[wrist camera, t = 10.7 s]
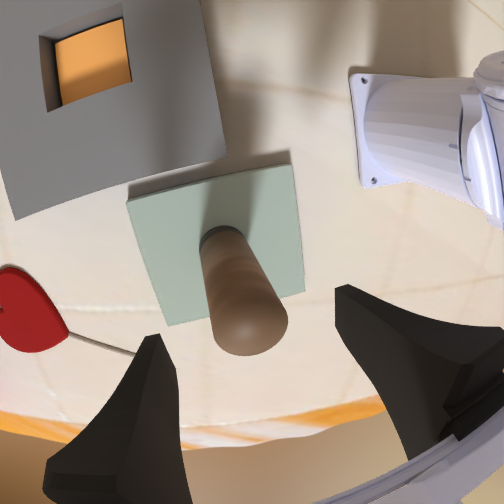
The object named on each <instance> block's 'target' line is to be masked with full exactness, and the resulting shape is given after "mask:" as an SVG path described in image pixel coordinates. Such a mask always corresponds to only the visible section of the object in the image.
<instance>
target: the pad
mask: <svg viewBox="0 0 504 504" xmlns="http://www.w3.org/2000/svg"><path fill="white" fill-rule="evenodd" d="M126 206H127V210H128V213H129V216H130V220H131V223H132V226H133V230H134V233H135V236H136V239H137V242H138V245H139V249H140V252H141V255H142V258H143V261H144V263H145V266H146V269H147V272H148V275H149V278H150V281H151V283H152V286H153V289H154V292H155V294H156V297H157V300H158V302H159V305H160V307H161V310H162V313H163V315H164V318H165V320H166V323H167V325H168V326H172V325H177V324H181V323H186V322H190V321H194V320H198V319H203V318H207V317H210V314H209V308H208V303H207V297H206V291H205V285H204V279H203V273H202V267H201V261H200V254H199V244H200V241H201V239H202V237H203V236H204V234H205V233H206V232H208V231H209V230H210V229H212V228H214V227H217V226H222V225H226V226H232V227H234V228H236V229H238V230H239V231H240V232H241V233H242V234H243V235H244V237H245V239H246V240H247V242H248V244H249V246H250V247H251V249H252V251H253V253H254V255H255V256H256V258H257V260H258V262H259V264H260V265H261V267H262V269H263V271H264V273H265V274H266V276H267V278H268V280H269V282H270V283H271V285H272V287H273V289H274V290H275V292H276V294H277V296H278V298H279V299H280V298H284V297H287V296H291V295H294V294H298V293H302V292H305V280H304V268H303V258H302V248H301V238H300V229H299V219H298V211H297V202H296V194H295V186H294V178H293V170H292V165H291V164H288V163H285V164H280V165H274V166H269V167H263V168H258V169H253V170H248V171H243V172H238V173H233V174H229V175H224V176H219V177H215V178H210V179H206V180H202V181H197V182H193V183H189V184H185V185H181V186H177V187H173V188H169V189H165V190H161V191H157V192H154V193H150V194H146V195H142V196H139V197H135V198H132V199H128V200H127V201H126Z"/></svg>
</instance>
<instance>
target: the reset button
mask: <svg viewBox="0 0 504 504" xmlns="http://www.w3.org/2000/svg"><path fill="white" fill-rule="evenodd" d="M55 48H56V59H57V68H58V76H59V84H60V90H61V97H62V103H63V106H65V105H67V104H69V103H72V102H74V101H77V100H80V99H82V98H85V97H88V96H90V95H93V94H96V93H99V92H102V91H105V90H108V89H111V88H114V87H117V86H120V85H123V84H127V83H130V82H133V80H132V74H131V68H130V62H129V55H128V48H127V41H126V34H125V26H124V21H123V20H122V19H120V20H117V21H114V22H111V23H108V24H105V25H102V26H99V27H96V28H93V29H90V30H88V31H85V32H82V33H80V34H77V35H75V36H72V37H70V38H67V39H65V40H63V41H60V42H58V43H56V44H55Z"/></svg>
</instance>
